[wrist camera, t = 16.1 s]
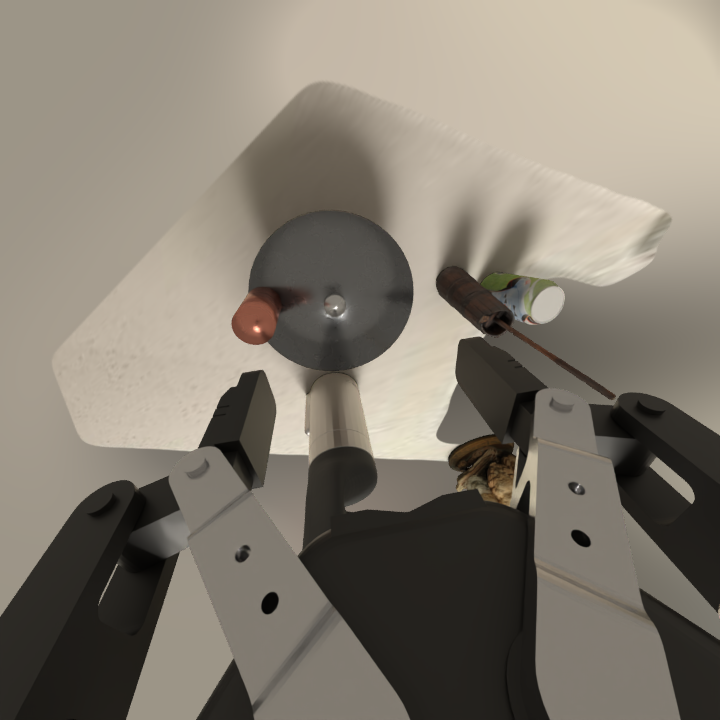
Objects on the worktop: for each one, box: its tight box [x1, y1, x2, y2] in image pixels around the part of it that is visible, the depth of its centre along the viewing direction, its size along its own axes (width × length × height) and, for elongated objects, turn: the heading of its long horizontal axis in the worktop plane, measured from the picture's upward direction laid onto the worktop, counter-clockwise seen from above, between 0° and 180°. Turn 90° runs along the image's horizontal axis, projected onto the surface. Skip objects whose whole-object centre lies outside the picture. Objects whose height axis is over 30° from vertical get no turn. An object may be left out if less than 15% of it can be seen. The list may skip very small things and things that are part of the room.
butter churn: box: [436, 266, 616, 400], centre depth 32 cm, size 9×10×28 cm
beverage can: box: [480, 272, 565, 325], centre depth 40 cm, size 6×7×12 cm
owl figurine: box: [449, 434, 516, 506], centre depth 61 cm, size 18×12×17 cm, turn 107°
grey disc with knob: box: [232, 210, 413, 371], centre depth 28 cm, size 18×18×8 cm
